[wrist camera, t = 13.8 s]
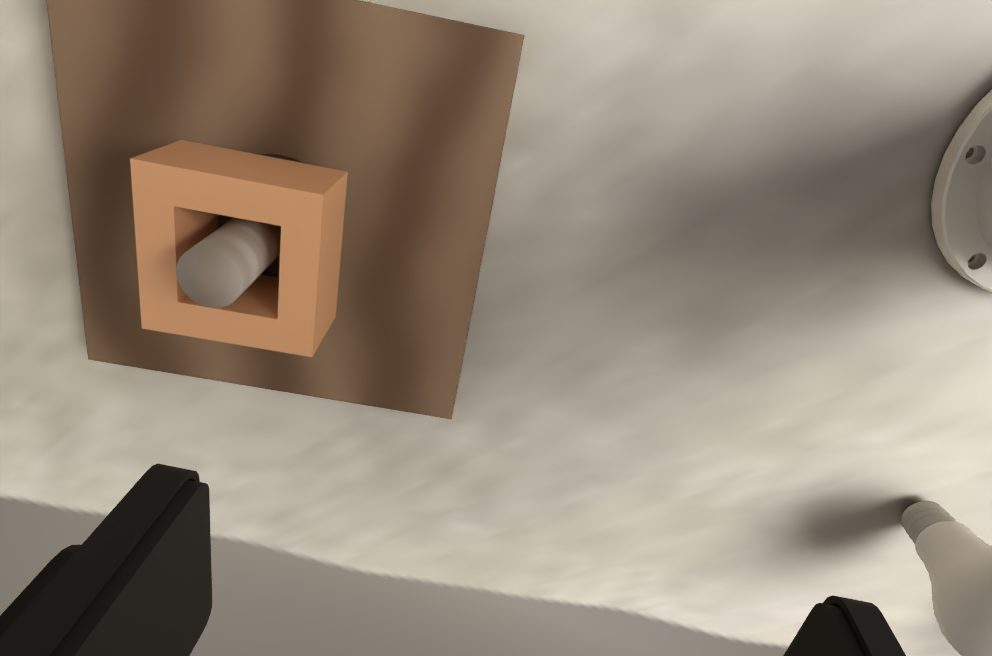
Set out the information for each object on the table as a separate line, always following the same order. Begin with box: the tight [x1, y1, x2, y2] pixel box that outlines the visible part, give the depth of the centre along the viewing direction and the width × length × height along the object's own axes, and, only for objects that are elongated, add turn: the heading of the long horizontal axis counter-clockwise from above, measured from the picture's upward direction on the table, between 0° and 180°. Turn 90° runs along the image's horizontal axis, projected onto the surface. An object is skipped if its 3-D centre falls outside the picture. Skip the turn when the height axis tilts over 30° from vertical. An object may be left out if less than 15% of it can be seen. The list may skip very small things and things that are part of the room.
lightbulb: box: [901, 501, 992, 656], centre depth 35 cm, size 6×6×11 cm
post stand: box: [47, 0, 524, 419], centre depth 27 cm, size 20×20×10 cm
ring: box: [130, 140, 348, 357], centre depth 26 cm, size 7×7×4 cm
